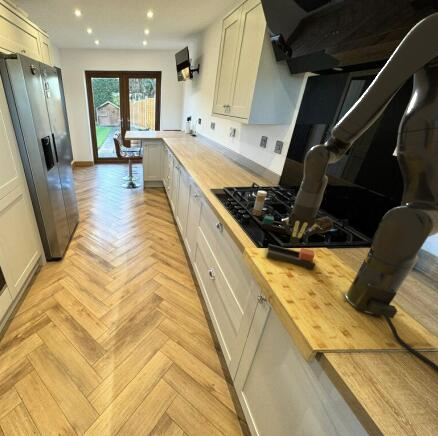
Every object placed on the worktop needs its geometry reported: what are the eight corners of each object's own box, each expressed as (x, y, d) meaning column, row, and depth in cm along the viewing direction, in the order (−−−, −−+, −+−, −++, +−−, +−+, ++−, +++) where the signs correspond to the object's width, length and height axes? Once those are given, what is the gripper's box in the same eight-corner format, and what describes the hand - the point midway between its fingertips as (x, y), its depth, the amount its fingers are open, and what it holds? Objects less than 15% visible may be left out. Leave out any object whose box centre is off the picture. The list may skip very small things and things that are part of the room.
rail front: (312, 270, 88) (315, 264, 86) (266, 257, 94) (268, 251, 93) (311, 260, 93) (313, 255, 92) (267, 249, 100) (268, 243, 98)
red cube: (311, 263, 88) (314, 255, 87) (299, 260, 90) (302, 252, 88) (310, 258, 91) (313, 250, 90) (298, 255, 93) (301, 247, 92)
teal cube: (271, 226, 115) (273, 220, 113) (262, 224, 117) (264, 218, 115) (272, 223, 118) (273, 217, 117) (263, 221, 120) (265, 215, 118)
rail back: (297, 237, 110) (299, 232, 109) (260, 228, 117) (262, 223, 115) (296, 231, 115) (298, 226, 114) (261, 223, 122) (263, 218, 121)
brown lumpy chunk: (342, 227, 109) (330, 214, 117) (316, 223, 108) (305, 210, 116) (333, 238, 113) (322, 225, 121) (307, 235, 113) (298, 222, 121)
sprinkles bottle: (258, 212, 134) (264, 190, 128) (262, 216, 130) (268, 193, 124) (250, 212, 134) (256, 190, 128) (254, 216, 130) (260, 193, 124)
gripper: (286, 202, 83) (273, 244, 90) (331, 210, 77) (314, 254, 85) (286, 196, 89) (274, 236, 96) (328, 203, 83) (312, 244, 91)
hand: (293, 244), depth 90 cm, fingers closed
